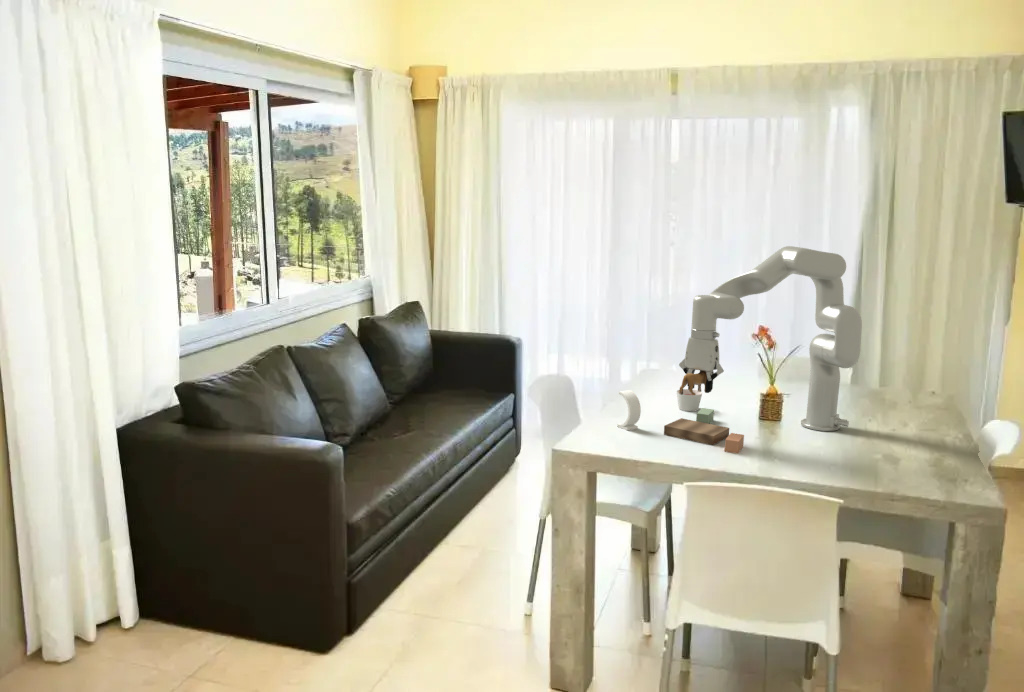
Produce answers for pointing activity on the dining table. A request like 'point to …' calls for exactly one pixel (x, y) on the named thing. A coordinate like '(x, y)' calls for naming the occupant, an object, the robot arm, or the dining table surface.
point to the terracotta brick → (734, 443)
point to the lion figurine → (694, 381)
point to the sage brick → (705, 415)
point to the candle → (689, 400)
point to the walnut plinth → (696, 431)
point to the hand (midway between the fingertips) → (699, 390)
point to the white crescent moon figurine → (631, 410)
